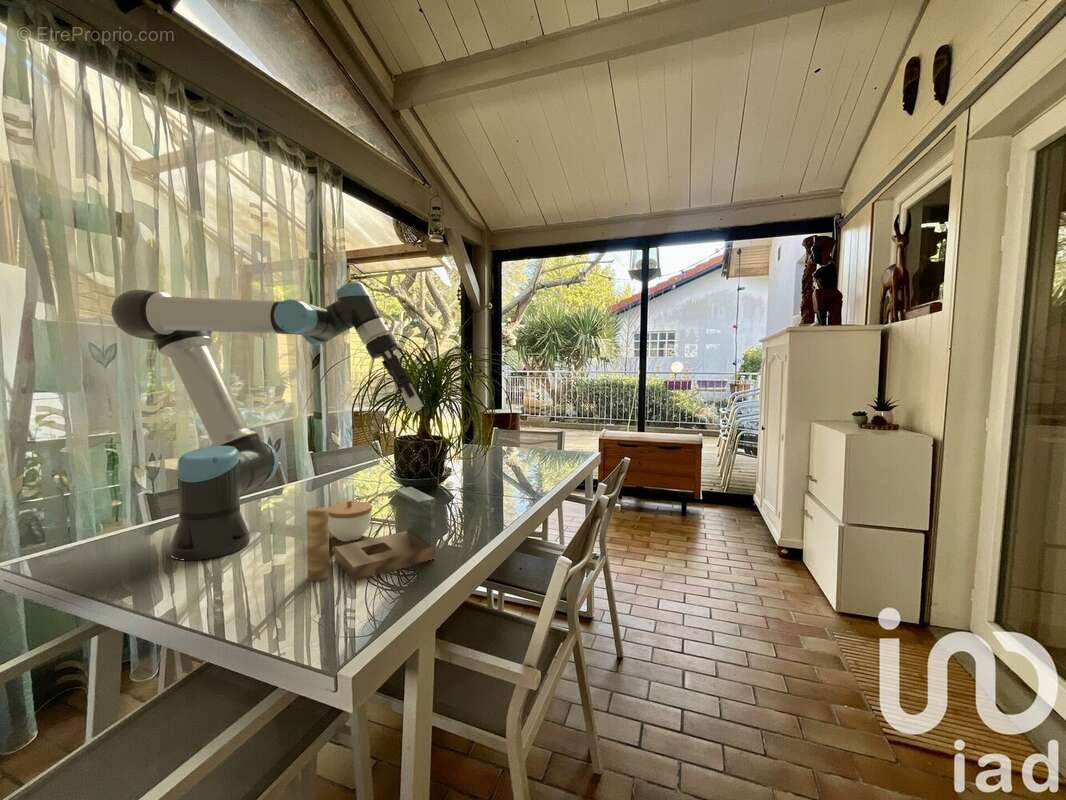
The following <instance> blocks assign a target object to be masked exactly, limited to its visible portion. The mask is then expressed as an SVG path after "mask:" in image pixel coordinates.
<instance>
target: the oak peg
mask: <svg viewBox="0 0 1066 800" xmlns="http://www.w3.org/2000/svg"><path fill="white" fill-rule="evenodd" d="M329 534H330V530H329V509H328V507H324V506H321V507H313V508H309V509H307V510H306V543H307V544H306V547H307V549H306V551H307V553H306V555H307V556H306V557H307V560H306V561H307V580H308V581H309V582H320V581H319V580H321V581H324V580H326V579H328V578H329V577H328V576H330V537H329V536H330V535H329ZM327 577H328V578H327ZM323 579H324V580H323Z"/></svg>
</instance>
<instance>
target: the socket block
mask: <svg viewBox="0 0 1066 800" xmlns="http://www.w3.org/2000/svg"><path fill="white" fill-rule="evenodd" d="M394 491H395V494H396V495H397V496H400V497H401V498H403V499H405V500H407V501H406V530H405V531H401V532H395V533H392V534H391V533H390V534H388V535H383V536H378V537H373V538H370V539H365V540H361V541H360V540H359V541H356V542H351V543H347V544H346V543H345V544H342V545H339V546H338V545H337V546H334V560H336V561H337V562H336V561H335V562H336V563H337V564H338V565H339V567H340V568H341V567H342V568H343V569H342V568H341V569H342V570H343V571H344V572H345V574H346V575H347V574H348V575H349V576H350V577H349V576H348V575H347V576H348V577H349V578H350V579H351V580H352V582H358V581H361V580H360V579H362V580H364V579H363V578H365V579H367V578H366V577H369V576H372V577H374V576H373V575H376V576H378V575H377V574H380V575H382V574H381V573H383V574H386V572H387V573H390V572H393V571H396V570H397V569H398V570H401V569H404V568H408V567H411V566H415V564H416V565H418V564H422V562H423V563H425V561H426V562H429V561H428V560H430V561H433V560H432V559H434V560H436V498H435V497H433V496H431V495H429V494H427V493H425V492H422V491H420V490H419V489H416V488H414V487H413V486H407V487H402V488H395V490H394ZM369 578H370V577H369ZM357 580H358V581H357Z"/></svg>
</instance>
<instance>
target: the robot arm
mask: <svg viewBox="0 0 1066 800" xmlns="http://www.w3.org/2000/svg"><path fill="white" fill-rule="evenodd" d="M335 295H336V297H337V300H335V301H334V302H333V303H331V304H329V305H328V306H325V307H324V308H323V307H319V306H316V305H313V304H311V303H308V302H306V301H303V300H301V299H293V298H292V299H285V300H283V301H279V300H260V299H259V300H256V299H231V298H229V299H228V298H203V297H183V296H182V297H181V296H174V295H173V296H172V295H170V294H169V293H168V292H164V291H163V292H162V291H152V290H146V289H133V290H127V291H125V292H123V293H121V294H120V295H118V296H116V298H115V300H113V303H112V304H111V309H110V310H111V312H110V313H111V318H112V319H113V322H114V323H115V325H116V326H117V327H118V328H119V329H120V330H121V331H123V332H124V333H126V334H128V335H129V336H132V337H135V338H138V339H142V340H143V339H144V340H152V341H154V343H155V345H156V348H157V349H158V352H159V354H161V355H163V356H165V357H168V358H170V359H171V362H172V363H173V365H174V367H175V369H176V372H177V374H178V376H179V378H180V380H181V382H182V384H183V386H184V388H185V390H186V392H187V394H188V396H189V399H190V400H191V402H192V404H193V407H194V409H195V410H196V412H197V415H198V417H199V418H200V421H201V423H202V425H203V427H204V429H205V431H206V433H207V436H208V437H209V439H210V441H211V444H210V446H206V447H204V448H203V447H202V448H201V447H200V448H197V449H193V450H190V451H187V452H185V453H184V454H182V455H181V456H180V457H179V458H178V462H177V471H176V477H177V488H178V489H177V490H178V492H177V493H178V494H177V495H178V496H177V497H178V514H179V515H178V519H179V520H178V523H177V527H176V528H175V532H174V535H173V537H172V540H171V543H170V547H169V549H170V550H169V551H170V552H169V554H171V555H172V556H173V557H175V558H178V559H184V560H193V561H203V560H202V559H204V560H209V559H208V558H210V559H215V558H218V557H219V556H220V557H223V555H224V556H226V555H230V554H233V553H236V552H238V551H240V550H242V549H244V548H245V547H246V545H247V544H248V545H249V543H250V532H249V529H248V527H247V524H246V522H245V520H244V517H243V514H242V513H241V494H243V493H246V492H248V491H249V490H253V489H256V488H258V487H260V486H262V485H264V484H266V482H268V481H270V480H271V479H272V478H273V477H274V475H275V474H276V472H277V470H278V467H279V457H278V456H279V455H278V453H277V451H276V449H275V448H274V447H273V446H271V445H270V444H268V443H266V442H264V441H262V439H261V437H260V435H259V433H258V431H254V430H251V429H249V427H248V426H247V423H246V421H245V419H244V417H243V416H242V413H241V411H240V408H239V407H238V405H237V403H236V401H235V399H234V397H233V394H232V392H231V390H230V388H229V386H228V384H227V382H226V380H225V378H224V376H223V374H222V371H221V369H220V367H219V365H218V363H217V362H216V359H215V357H214V355H213V353H212V351H211V349H210V346H211V345H212V343H213V342H214V340H213V338H212V336H211V335H212V334H213V333H214V332H215V333H216V332H218V333H219V332H220V333H222V332H223V333H248V334H249V333H250V334H279V335H280V334H282V335H294V336H295V335H299V336H302V337H303V338H304V339H305V341H306V342H307V343H309V344H310V345H312V346H315V347H317V346H320V345H322V344H325V343H328V342H329V341H331V340H332V339H334V338H336V337H337V336H340V335H341V334H343V333H345V332H346V331H348V330H350V329H352V328H354V329H355V332H356V333H357V334H358V337H359V339H360V340H361V342H362V344H363V345H365V349H366V351H367V353H368V354H369V356H370V357H371V358H372V359H379V358H380V357H382V359H383V360H382V361H381V363H382V365H383V367H384V369H386V371H387V373H388V374H389V376H390V377H391V378H392V380H393V381H394V383H395V385H396V387H397V389H398V392H399V393H400V394H401V396H402V398H403V400H404V402H405V404H406V405H407V407H408V408H409V410H410V412H411V414H412V415H413V414H415V413H416V412H419V411H421V410H422V408H423V407H424V404H423V403H422V401H421V399H420V397H419V395H418V394H417V392H416V390H415V388H414V386H413V385H412V383H411V380H410V378H409V376H408V374H406V372H405V370H404V369H403V367H402V364H401V362H400V361H399V360H400V359H399V358H398V356H397V354H394V351H395V350H397V348H398V346H399V345H398V342H397V341H396V340H395V337H394V336H393V334H391V332H390V329H389V327H388V325H389V322H388V321H385V320H384V318H383V317H382V314H381V313H380V310H379V309H378V307H377V305H376V303H375V301H374V300H373V297H372V295H371V294H370V292H369V291H368V289H367V288H366V287H365V285H364V283H361V282H359V281H353V282H349V283H346V284H344V285H342V286H341V287H340V288H338V289H337V290H336V293H335ZM212 332H213V333H212ZM248 545H247V546H248ZM243 547H244V548H243ZM171 555H170V556H171ZM214 557H215V558H214ZM220 557H219V558H220ZM184 560H183V561H184Z"/></svg>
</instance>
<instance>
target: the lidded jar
mask: <svg viewBox="0 0 1066 800" xmlns="http://www.w3.org/2000/svg"><path fill="white" fill-rule="evenodd" d="M372 507H373V506H372V504H371V503H369V502H367V501H360V500H358V501H356V500H355V501H354V500H353V501H352V500H347V501H345V502H343V501H342V502H339V503H335V504H333V505H331V506H329V507H327V508H328V509H329V533H330V534H331V535H332V536H333V537H335V538H336V540H337V539H338V540H337V541H339V540H341V541H340V542H352V541H351V540H353V541H357V540H359V539H361V538H362V537H363V535H364V534H365V533H366V532H367V530H368V529H369V528H370V525H371V521H372Z"/></svg>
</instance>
